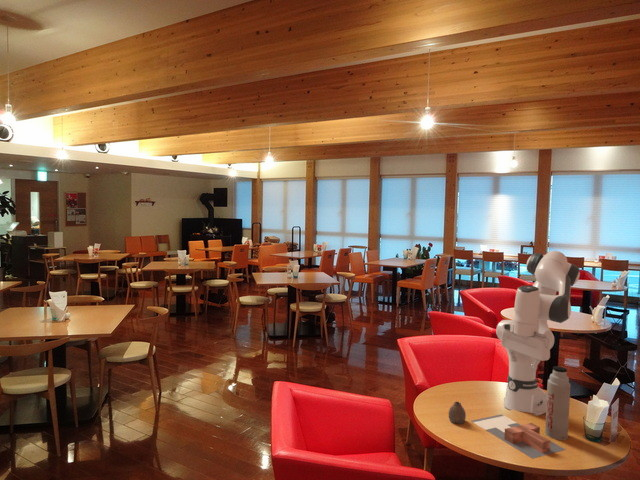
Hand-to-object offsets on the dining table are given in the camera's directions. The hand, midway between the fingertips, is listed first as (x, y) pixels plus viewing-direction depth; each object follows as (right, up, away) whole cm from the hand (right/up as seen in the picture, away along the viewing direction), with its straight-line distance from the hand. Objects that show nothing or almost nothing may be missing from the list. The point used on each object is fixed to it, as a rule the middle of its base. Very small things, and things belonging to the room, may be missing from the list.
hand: (523, 365), depth 173 cm
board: (0, -30, +7) cm, 31 cm away
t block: (+3, -30, 0) cm, 30 cm away
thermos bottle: (+16, -31, +8) cm, 36 cm away
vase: (-20, -29, +18) cm, 40 cm away
